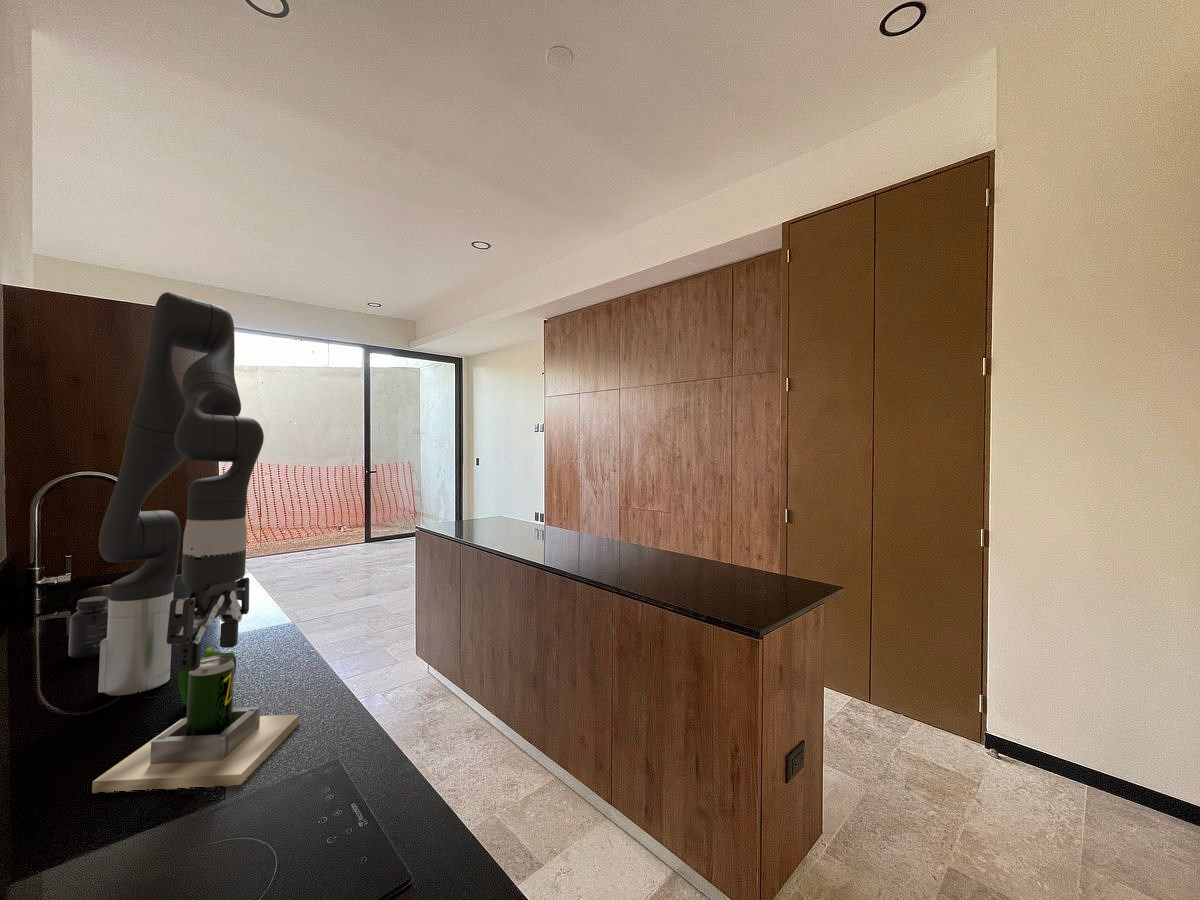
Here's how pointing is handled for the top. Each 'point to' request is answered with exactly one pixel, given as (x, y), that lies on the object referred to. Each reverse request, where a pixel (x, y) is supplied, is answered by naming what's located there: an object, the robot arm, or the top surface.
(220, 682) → the beer can
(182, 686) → the bell pepper
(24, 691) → the top surface
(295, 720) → the collar board
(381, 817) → the top surface
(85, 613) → the supplement bottle
